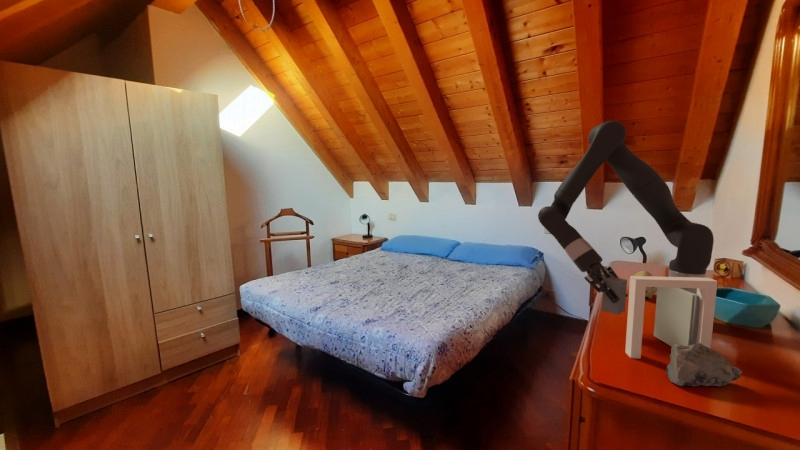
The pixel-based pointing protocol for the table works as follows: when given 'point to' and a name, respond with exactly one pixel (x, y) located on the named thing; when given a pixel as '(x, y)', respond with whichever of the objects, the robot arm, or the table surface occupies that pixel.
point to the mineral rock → (699, 366)
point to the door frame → (639, 284)
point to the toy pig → (649, 290)
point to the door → (676, 316)
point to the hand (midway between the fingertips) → (620, 299)
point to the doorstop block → (620, 290)
